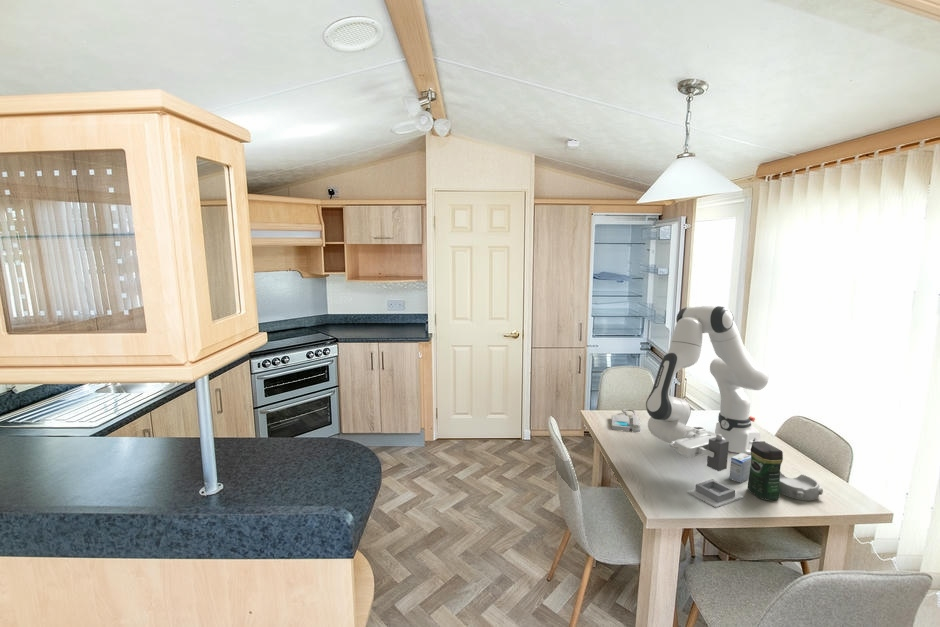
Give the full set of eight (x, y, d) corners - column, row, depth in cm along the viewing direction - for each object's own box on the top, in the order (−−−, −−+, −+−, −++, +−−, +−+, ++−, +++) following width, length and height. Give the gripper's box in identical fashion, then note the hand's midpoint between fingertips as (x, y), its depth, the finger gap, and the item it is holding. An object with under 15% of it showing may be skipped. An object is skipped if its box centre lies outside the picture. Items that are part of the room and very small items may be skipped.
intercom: (638, 407, 239) (640, 424, 215) (637, 415, 240) (640, 433, 216) (611, 405, 243) (611, 421, 219) (611, 412, 244) (611, 430, 220)
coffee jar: (783, 501, 157) (788, 450, 155) (762, 502, 156) (767, 451, 154) (763, 486, 167) (767, 438, 164) (743, 487, 166) (747, 439, 163)
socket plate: (713, 483, 169) (714, 476, 168) (742, 498, 159) (743, 490, 158) (687, 492, 163) (688, 484, 162) (715, 507, 153) (716, 499, 152)
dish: (762, 482, 170) (764, 469, 170) (800, 482, 170) (801, 470, 169) (788, 503, 156) (789, 489, 155) (829, 503, 156) (831, 490, 155)
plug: (715, 463, 162) (717, 431, 161) (726, 468, 158) (729, 435, 157) (706, 465, 160) (709, 433, 159) (718, 471, 156) (720, 438, 155)
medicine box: (739, 473, 177) (741, 452, 176) (751, 477, 173) (753, 456, 172) (728, 478, 173) (730, 457, 171) (741, 483, 169) (743, 461, 168)
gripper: (666, 435, 165) (700, 450, 153) (704, 426, 174) (739, 439, 162) (665, 451, 166) (699, 467, 154) (703, 441, 175) (738, 456, 163)
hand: (720, 453), depth 158 cm, fingers closed on plug, 4 cm apart
